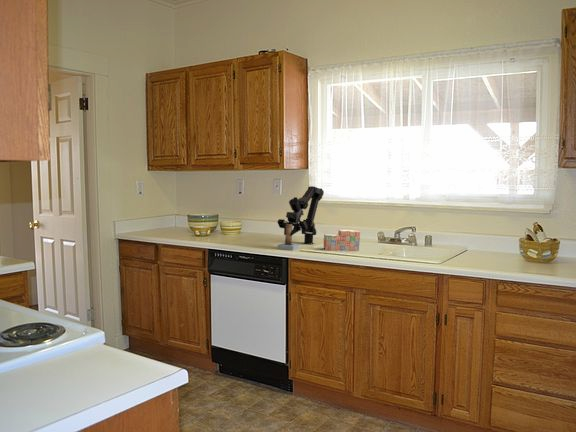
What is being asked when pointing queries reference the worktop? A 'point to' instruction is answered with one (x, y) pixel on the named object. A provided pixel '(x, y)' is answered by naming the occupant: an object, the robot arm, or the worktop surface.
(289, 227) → the dowel
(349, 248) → the stack of blocks
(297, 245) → the bead block
